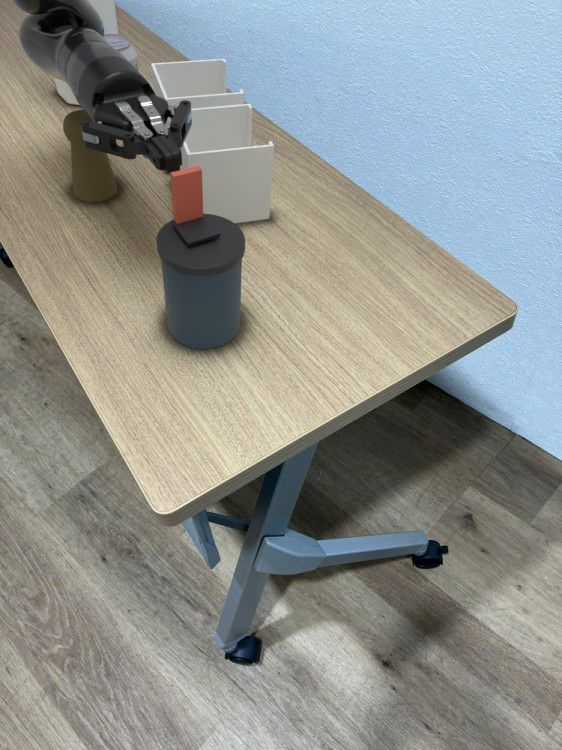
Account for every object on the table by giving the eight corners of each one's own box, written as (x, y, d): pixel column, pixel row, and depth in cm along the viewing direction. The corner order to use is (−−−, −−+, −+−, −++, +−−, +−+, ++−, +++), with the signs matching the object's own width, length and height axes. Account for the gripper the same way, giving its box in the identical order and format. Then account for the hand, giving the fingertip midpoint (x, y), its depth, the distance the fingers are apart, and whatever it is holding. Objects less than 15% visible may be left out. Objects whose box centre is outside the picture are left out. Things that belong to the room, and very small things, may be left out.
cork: (71, 180, 88) (55, 105, 80) (114, 175, 90) (102, 101, 81) (75, 204, 84) (59, 128, 76) (120, 199, 86) (108, 124, 77)
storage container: (157, 134, 98) (151, 63, 89) (224, 128, 100) (224, 58, 92) (191, 229, 83) (187, 154, 74) (269, 218, 85) (274, 145, 77)
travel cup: (152, 311, 72) (141, 226, 63) (220, 287, 76) (220, 204, 67) (185, 362, 68) (179, 278, 58) (256, 334, 71) (261, 252, 62)
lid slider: (171, 224, 63) (167, 173, 59) (202, 215, 65) (201, 164, 60) (188, 246, 61) (185, 195, 57) (220, 236, 63) (220, 185, 58)
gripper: (44, 64, 65) (104, 143, 56) (160, 45, 70) (232, 115, 61) (59, 131, 71) (115, 213, 62) (165, 109, 76) (231, 181, 67)
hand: (173, 164), depth 61 cm, fingers closed
